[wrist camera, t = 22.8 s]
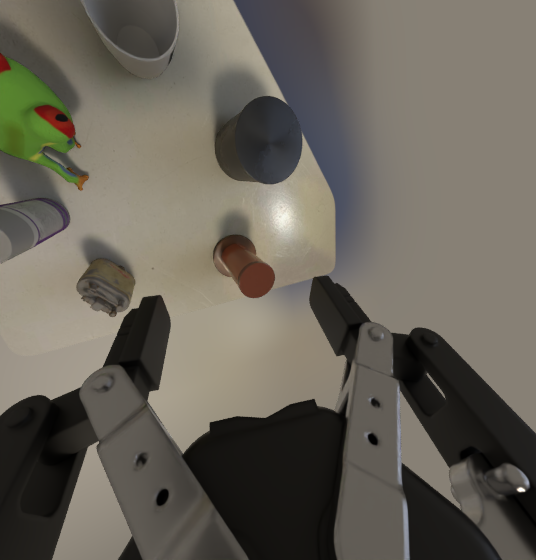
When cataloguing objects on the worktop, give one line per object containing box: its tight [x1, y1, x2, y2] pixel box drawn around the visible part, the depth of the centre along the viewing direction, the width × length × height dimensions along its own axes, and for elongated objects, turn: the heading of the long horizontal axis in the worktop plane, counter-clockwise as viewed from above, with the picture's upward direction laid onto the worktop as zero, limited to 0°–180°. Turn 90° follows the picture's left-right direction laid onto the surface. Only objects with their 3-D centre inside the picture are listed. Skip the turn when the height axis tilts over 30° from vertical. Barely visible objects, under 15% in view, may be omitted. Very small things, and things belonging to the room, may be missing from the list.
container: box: [0, 198, 70, 264], centre depth 24 cm, size 5×5×15 cm
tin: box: [215, 96, 302, 184], centre depth 32 cm, size 10×10×12 cm
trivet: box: [213, 235, 256, 277], centre depth 44 cm, size 9×9×1 cm
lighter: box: [77, 258, 135, 317], centre depth 33 cm, size 7×4×10 cm, turn 37°
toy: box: [0, 53, 89, 190], centre depth 23 cm, size 14×9×10 cm, turn 37°
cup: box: [81, 0, 179, 79], centre depth 24 cm, size 8×8×10 cm
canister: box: [221, 244, 275, 298], centre depth 39 cm, size 6×6×12 cm
